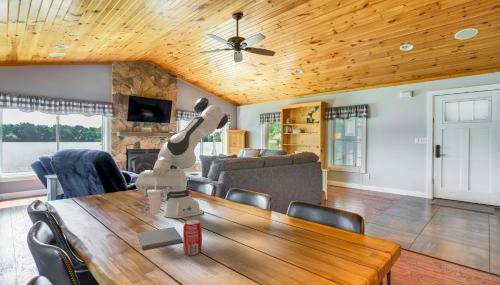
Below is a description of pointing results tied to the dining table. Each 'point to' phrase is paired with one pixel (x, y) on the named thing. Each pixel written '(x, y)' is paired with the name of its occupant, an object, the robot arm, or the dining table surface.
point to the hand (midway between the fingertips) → (154, 196)
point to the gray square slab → (159, 238)
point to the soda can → (192, 237)
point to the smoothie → (155, 199)
